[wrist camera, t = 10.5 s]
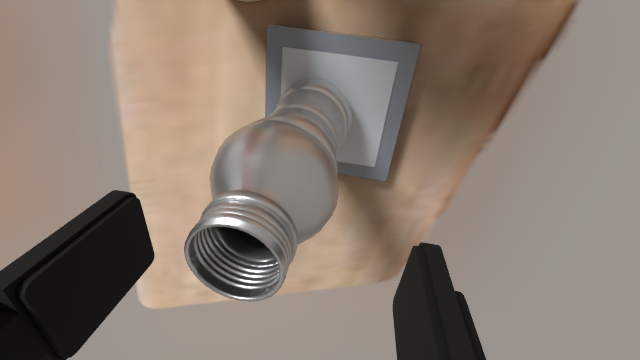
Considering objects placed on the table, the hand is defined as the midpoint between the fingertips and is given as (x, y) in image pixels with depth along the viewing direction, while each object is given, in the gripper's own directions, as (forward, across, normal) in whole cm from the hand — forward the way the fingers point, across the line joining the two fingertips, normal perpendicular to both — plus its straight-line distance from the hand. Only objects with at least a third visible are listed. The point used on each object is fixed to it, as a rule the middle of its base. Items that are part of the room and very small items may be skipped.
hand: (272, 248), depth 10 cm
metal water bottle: (+20, +1, +1) cm, 20 cm away
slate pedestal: (+22, 0, +1) cm, 22 cm away
